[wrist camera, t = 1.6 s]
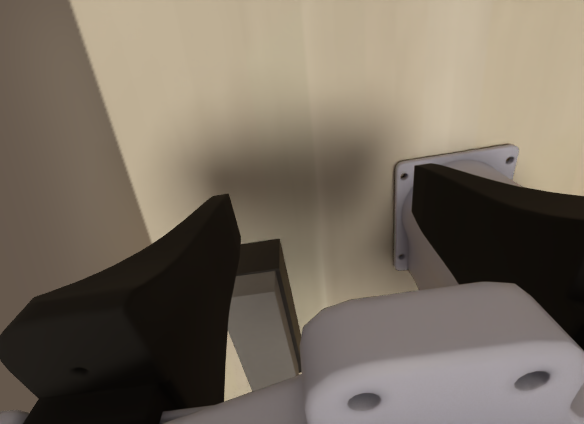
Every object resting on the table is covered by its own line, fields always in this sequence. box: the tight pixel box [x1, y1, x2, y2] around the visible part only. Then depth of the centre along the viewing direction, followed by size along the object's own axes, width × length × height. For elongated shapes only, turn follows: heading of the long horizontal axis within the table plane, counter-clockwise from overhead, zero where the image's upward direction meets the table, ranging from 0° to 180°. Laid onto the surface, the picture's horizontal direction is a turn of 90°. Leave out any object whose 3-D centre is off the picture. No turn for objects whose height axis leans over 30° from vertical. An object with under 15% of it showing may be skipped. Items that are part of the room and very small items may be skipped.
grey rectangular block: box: [228, 239, 302, 392], centre depth 25 cm, size 12×4×6 cm, turn 9°
